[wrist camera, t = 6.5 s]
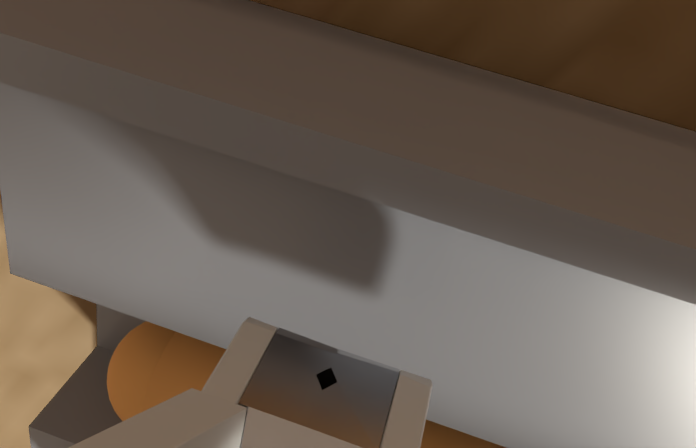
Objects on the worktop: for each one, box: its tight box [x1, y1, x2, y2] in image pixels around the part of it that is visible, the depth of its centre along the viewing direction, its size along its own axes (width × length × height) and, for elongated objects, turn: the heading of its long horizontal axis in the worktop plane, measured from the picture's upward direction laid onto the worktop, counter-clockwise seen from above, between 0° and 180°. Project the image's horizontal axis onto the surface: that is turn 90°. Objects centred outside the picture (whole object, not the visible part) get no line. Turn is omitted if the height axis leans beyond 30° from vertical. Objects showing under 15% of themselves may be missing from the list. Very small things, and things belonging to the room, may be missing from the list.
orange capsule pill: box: [107, 321, 506, 448], centre depth 16 cm, size 11×3×3 cm
